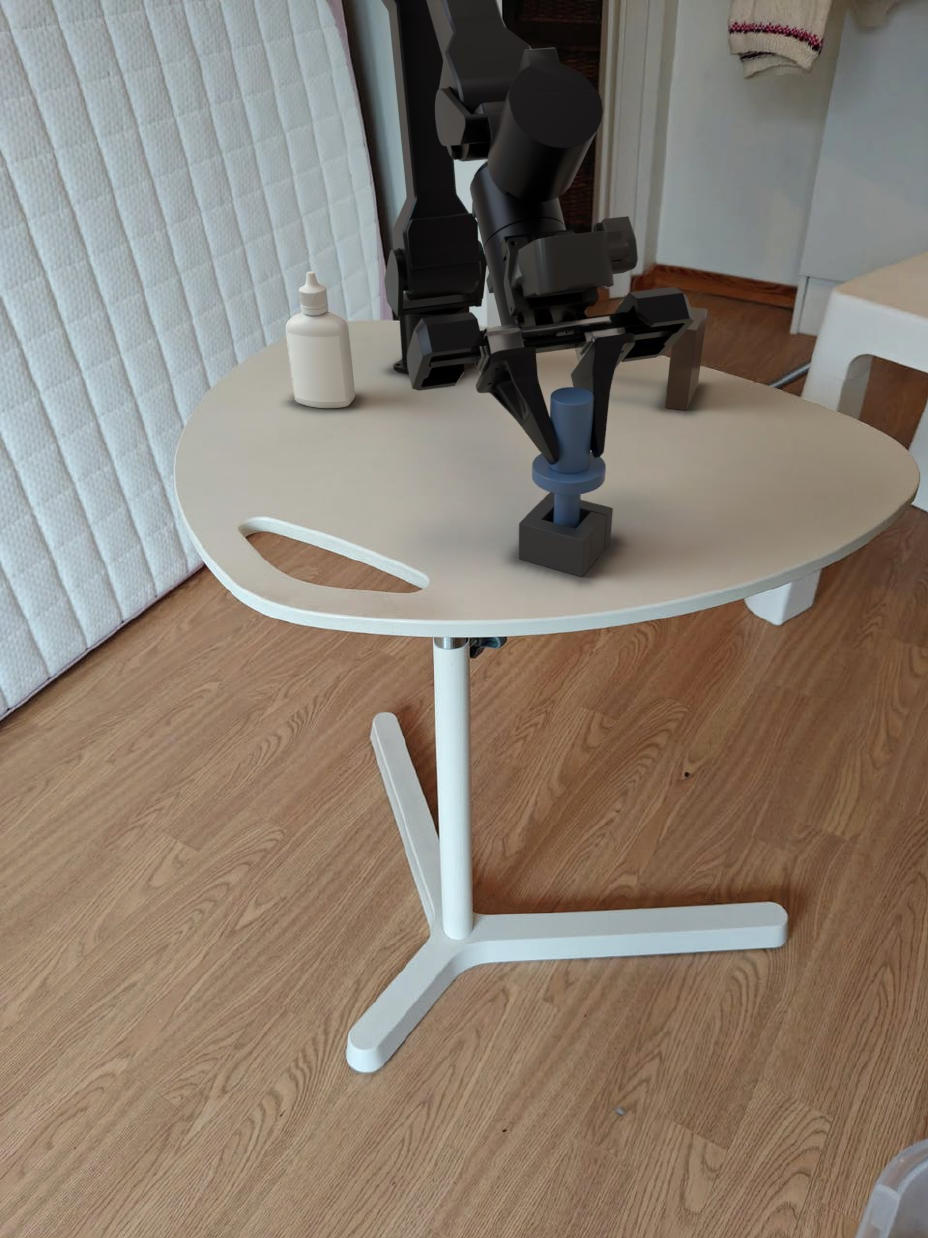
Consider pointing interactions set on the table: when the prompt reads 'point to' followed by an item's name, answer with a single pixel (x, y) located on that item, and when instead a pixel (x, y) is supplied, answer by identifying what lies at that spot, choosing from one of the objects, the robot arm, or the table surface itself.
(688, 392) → the stand
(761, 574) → the table surface
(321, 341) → the eye dropper bottle
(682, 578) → the table surface
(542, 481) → the peg
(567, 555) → the holder
